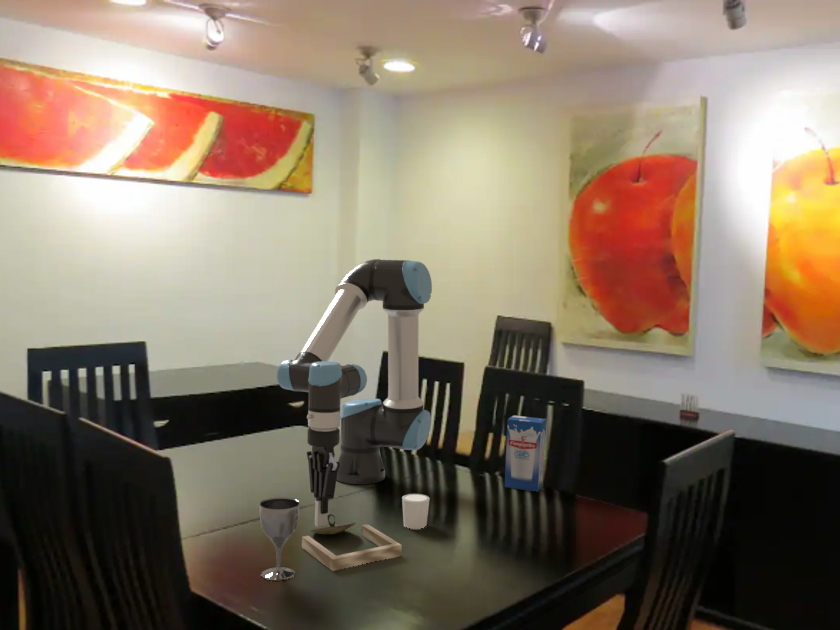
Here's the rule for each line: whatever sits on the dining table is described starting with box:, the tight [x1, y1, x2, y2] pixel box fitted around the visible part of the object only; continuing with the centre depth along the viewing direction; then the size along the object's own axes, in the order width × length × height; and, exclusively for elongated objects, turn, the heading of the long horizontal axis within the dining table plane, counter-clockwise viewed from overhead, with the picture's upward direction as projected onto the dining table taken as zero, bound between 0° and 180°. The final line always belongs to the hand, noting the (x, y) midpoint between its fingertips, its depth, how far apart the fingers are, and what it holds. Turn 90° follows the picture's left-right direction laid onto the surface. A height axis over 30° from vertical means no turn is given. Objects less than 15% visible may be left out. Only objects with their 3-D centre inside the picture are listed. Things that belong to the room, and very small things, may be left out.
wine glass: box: [259, 496, 300, 581], centre depth 161 cm, size 8×8×15 cm
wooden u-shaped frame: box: [301, 523, 403, 572], centre depth 175 cm, size 17×15×2 cm
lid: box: [310, 513, 356, 535], centre depth 184 cm, size 11×10×5 cm
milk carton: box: [504, 415, 547, 493], centre depth 228 cm, size 10×6×20 cm, turn 68°
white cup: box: [401, 493, 431, 530], centre depth 193 cm, size 7×7×7 cm
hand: (321, 525), depth 187 cm, fingers closed
